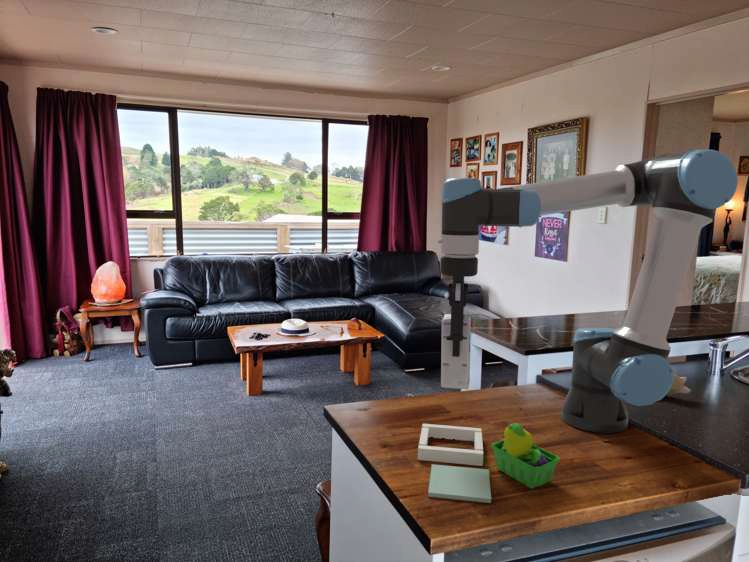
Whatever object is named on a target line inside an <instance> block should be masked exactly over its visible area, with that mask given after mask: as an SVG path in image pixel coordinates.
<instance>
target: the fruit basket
mask: <svg viewBox="0 0 749 562" xmlns="http://www.w3.org/2000/svg"><path fill="white" fill-rule="evenodd" d="M503 434H504V438H503V439H502V440H499V441H495V442H493V443H491V448H492V450H493V454H494V457H495V458H494V459H495V463H496V468H497V469H498V470H499V471H501V472H502V473H505V474H506V476H507V475H508V477H511V478H513V479H515V480H516V481H518V482H519V483H521V484H524V485H525V486H527V487H528V488H530V489H534V488H536V487H540V486H543V485H545V484H546V483H547V484H548V483H550V482H551V480H552V477H553V474H554V473H555V470H556V466H557V465H558V463H559V461H560V460H561V459H560V456H558V455H556V454H554V453H551V452H550V451H548V450H546V449H543V448H542V447H539V446H538V445H535V444H533V443H534V441H535V440H534V437H533V436H532V434H531V433H530V432H528V431H527V430H526V429H524V428H523V426H522V425H521V424H520V423H517V422H515V423H511V424H509V425H508V426H507V427H505V428H504V433H503Z"/></svg>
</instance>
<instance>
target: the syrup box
mask: <svg viewBox="0 0 749 562" xmlns="http://www.w3.org/2000/svg"><path fill="white" fill-rule="evenodd" d="M471 318H472V317H471V315H469V314H465V313H464V315H463V336H464V337H463V360H462V372H454V371H449V342H450V340H446V338H447V337H450V330H451V313H444V315H443V317H442V319H441V339H440V340H441V342H440V343H441V348H440V349H441V351H440V352H441V354H440V355H441V356H440V360H441V361H440V387H441V388H445V389H454V390H456V389H458V390H459V389H460V390H469V386H470V378H471V377H470V376H471V373H470V371H471V339H472V338H471V335H472V334H471V323H472V321H471V320H472V319H471ZM457 334H459V333H457Z"/></svg>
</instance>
